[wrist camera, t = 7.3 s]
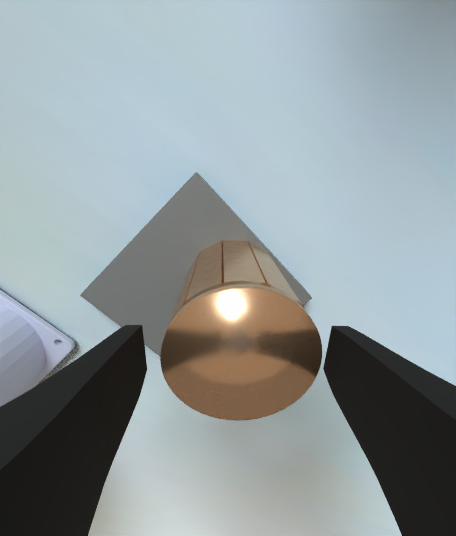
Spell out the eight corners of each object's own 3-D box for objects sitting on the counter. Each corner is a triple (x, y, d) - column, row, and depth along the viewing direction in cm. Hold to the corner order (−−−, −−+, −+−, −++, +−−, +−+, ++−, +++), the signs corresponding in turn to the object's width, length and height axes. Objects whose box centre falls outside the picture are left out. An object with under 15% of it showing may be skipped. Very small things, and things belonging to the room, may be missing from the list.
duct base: (90, 287, 15) (29, 335, 11) (198, 173, 13) (184, 167, 8) (200, 373, 18) (193, 444, 13) (305, 289, 16) (342, 337, 11)
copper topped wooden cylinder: (187, 322, 15) (164, 420, 9) (185, 237, 13) (154, 286, 7) (273, 324, 15) (309, 420, 9) (283, 241, 14) (336, 290, 7)
